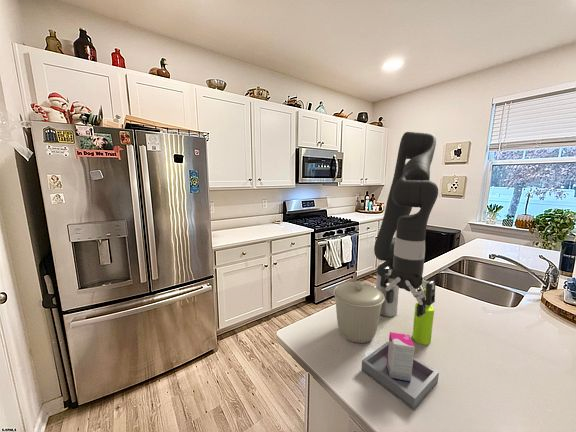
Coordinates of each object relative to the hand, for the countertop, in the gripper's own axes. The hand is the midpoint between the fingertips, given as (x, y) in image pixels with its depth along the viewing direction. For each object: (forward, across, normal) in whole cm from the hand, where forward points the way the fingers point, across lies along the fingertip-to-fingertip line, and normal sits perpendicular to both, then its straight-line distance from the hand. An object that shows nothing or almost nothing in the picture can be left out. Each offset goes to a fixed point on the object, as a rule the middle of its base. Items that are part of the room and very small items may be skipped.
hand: (403, 308), depth 68 cm
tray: (+22, 0, 0) cm, 22 cm away
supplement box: (+21, 0, 0) cm, 21 cm away
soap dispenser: (+22, +4, -23) cm, 32 cm away
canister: (+22, +20, -6) cm, 30 cm away
